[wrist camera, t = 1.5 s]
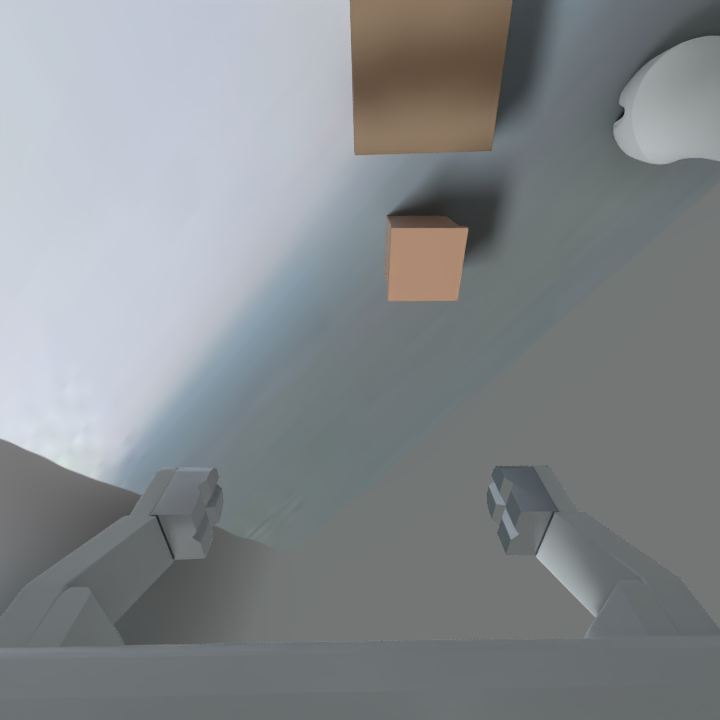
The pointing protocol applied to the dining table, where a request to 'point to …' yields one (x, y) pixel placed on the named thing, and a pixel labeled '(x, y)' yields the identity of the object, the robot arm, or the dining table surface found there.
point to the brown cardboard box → (424, 258)
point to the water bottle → (673, 105)
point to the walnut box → (426, 74)
